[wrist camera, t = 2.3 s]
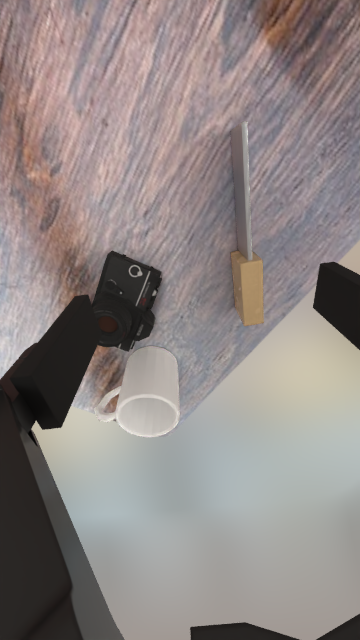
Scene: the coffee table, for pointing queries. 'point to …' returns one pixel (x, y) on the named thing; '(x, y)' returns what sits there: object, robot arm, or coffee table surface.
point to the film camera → (125, 301)
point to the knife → (245, 237)
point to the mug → (146, 394)
